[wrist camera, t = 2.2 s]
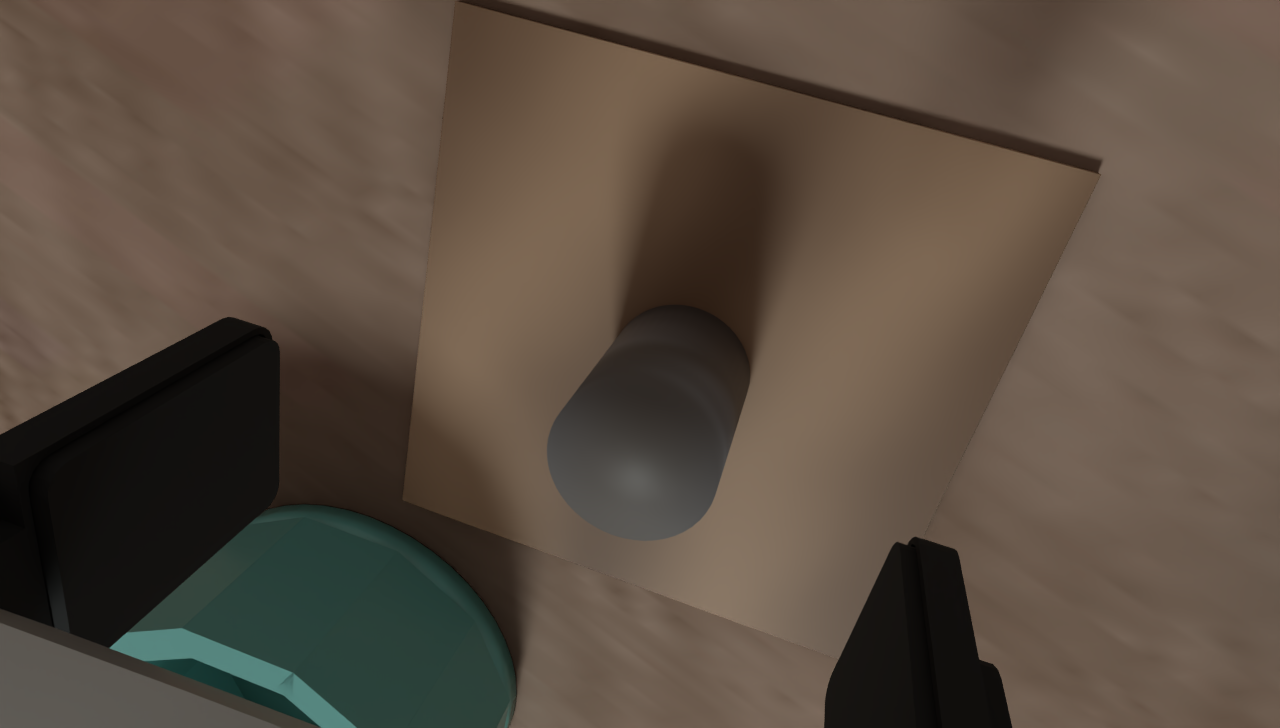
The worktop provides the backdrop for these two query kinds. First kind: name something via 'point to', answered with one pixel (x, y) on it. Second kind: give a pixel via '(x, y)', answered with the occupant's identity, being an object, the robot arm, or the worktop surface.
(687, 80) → the lid
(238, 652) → the bowl
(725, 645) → the worktop surface
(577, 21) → the worktop surface
